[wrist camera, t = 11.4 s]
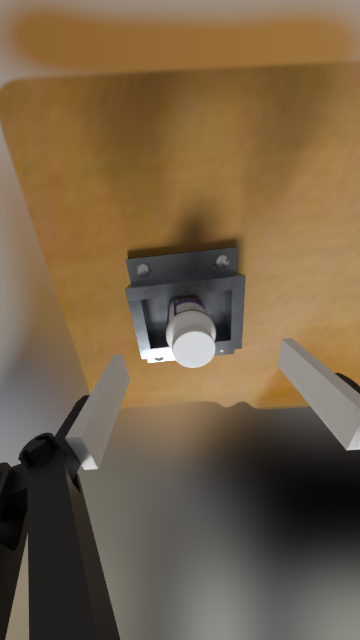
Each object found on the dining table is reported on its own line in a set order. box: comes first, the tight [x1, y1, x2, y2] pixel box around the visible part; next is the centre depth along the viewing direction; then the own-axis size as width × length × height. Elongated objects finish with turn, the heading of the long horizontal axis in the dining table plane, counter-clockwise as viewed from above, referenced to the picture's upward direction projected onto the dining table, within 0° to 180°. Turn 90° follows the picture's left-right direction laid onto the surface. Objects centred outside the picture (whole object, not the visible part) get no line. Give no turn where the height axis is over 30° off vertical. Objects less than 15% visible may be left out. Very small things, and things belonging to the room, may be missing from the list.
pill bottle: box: [166, 295, 216, 368], centre depth 20 cm, size 5×5×10 cm
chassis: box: [125, 247, 245, 363], centre depth 24 cm, size 16×14×4 cm
